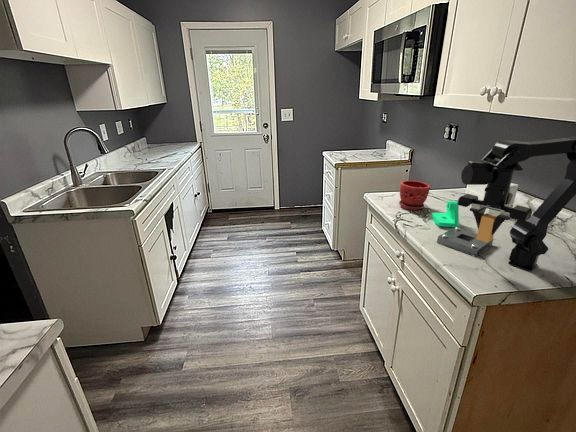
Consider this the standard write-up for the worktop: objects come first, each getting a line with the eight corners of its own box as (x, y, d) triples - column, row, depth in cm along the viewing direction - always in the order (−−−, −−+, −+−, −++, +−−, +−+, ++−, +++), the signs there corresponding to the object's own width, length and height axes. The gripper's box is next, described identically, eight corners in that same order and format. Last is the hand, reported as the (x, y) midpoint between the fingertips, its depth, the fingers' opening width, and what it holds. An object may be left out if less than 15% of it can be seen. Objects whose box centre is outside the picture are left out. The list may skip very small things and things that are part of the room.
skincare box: (499, 218, 141) (508, 186, 135) (486, 214, 146) (494, 183, 140) (510, 215, 144) (519, 184, 139) (497, 211, 149) (505, 180, 144)
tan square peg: (492, 239, 100) (498, 216, 97) (488, 242, 98) (494, 219, 95) (480, 236, 102) (486, 213, 99) (476, 239, 100) (481, 215, 97)
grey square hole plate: (491, 244, 117) (494, 237, 116) (476, 256, 109) (478, 248, 107) (453, 232, 127) (455, 225, 126) (436, 242, 119) (438, 234, 117)
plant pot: (416, 213, 146) (421, 189, 141) (392, 206, 155) (395, 183, 151) (431, 207, 153) (435, 184, 149) (407, 200, 163) (410, 178, 158)
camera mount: (430, 217, 142) (434, 196, 138) (448, 218, 141) (452, 197, 137) (437, 228, 131) (442, 205, 127) (457, 229, 130) (462, 206, 126)
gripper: (544, 186, 91) (529, 234, 97) (476, 174, 104) (466, 217, 110) (533, 193, 85) (517, 245, 90) (461, 179, 98) (451, 225, 104)
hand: (486, 232), depth 99 cm, fingers closed on tan square peg, 3 cm apart
